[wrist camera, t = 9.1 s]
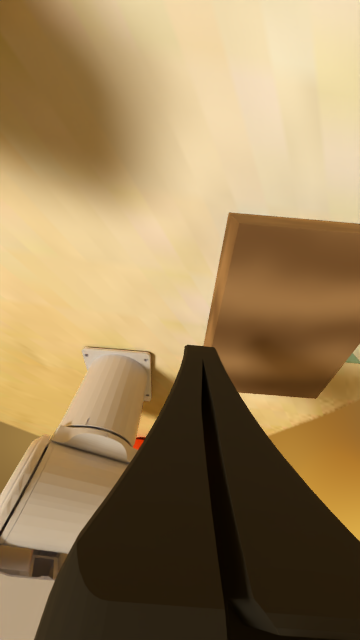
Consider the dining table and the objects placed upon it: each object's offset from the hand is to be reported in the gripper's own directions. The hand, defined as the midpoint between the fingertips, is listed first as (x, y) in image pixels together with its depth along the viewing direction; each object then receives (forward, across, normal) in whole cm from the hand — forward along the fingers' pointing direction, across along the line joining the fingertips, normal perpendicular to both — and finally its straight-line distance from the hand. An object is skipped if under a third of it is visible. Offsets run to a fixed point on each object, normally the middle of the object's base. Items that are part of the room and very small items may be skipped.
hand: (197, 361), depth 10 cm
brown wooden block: (+10, -8, +3) cm, 13 cm away
